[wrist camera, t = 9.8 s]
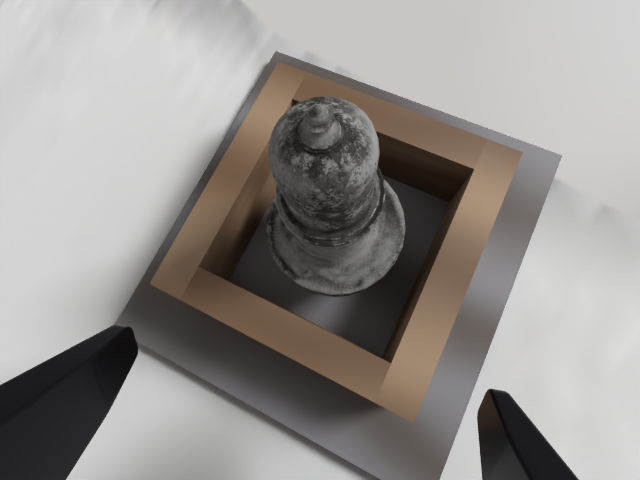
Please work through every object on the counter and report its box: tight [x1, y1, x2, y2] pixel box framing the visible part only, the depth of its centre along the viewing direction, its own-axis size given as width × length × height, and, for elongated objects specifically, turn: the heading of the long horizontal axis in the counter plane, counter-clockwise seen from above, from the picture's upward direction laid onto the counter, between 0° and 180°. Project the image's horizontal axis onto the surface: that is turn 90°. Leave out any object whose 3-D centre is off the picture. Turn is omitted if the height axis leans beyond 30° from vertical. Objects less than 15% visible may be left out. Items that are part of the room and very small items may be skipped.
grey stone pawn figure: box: [266, 96, 406, 296], centre depth 13 cm, size 6×6×12 cm
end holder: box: [115, 51, 562, 480], centre depth 18 cm, size 18×17×5 cm
